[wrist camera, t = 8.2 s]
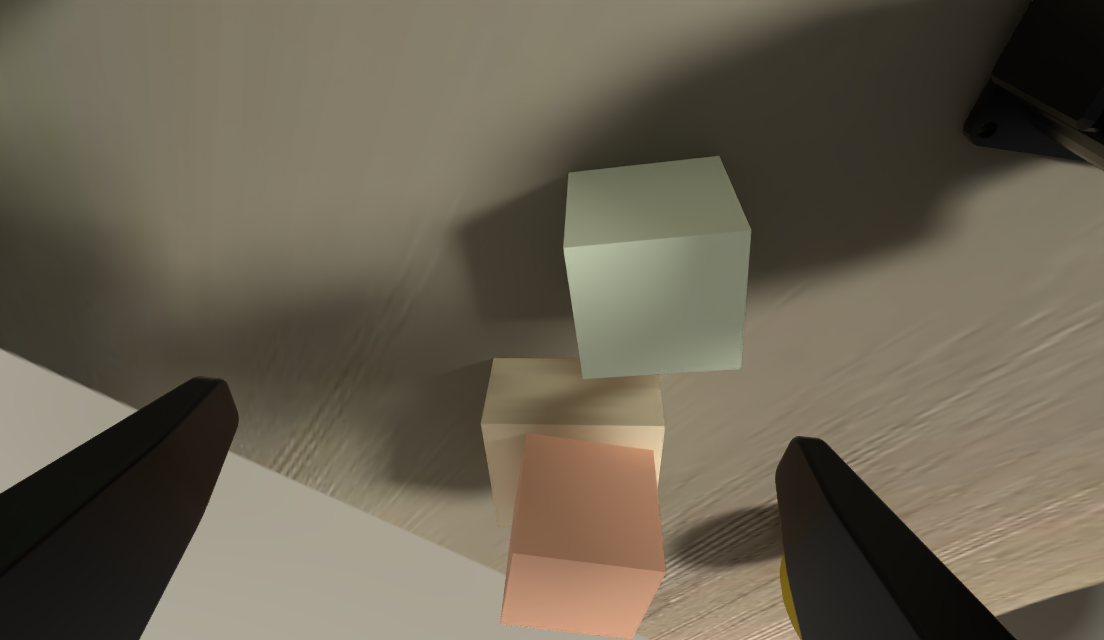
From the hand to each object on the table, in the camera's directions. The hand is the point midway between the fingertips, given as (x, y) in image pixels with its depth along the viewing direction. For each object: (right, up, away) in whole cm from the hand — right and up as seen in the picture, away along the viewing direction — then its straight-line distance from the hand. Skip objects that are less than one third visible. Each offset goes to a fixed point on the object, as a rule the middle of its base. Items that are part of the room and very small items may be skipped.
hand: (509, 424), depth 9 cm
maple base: (+2, -3, +18) cm, 18 cm away
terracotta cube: (+2, -5, +15) cm, 16 cm away
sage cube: (+4, +5, +12) cm, 13 cm away
